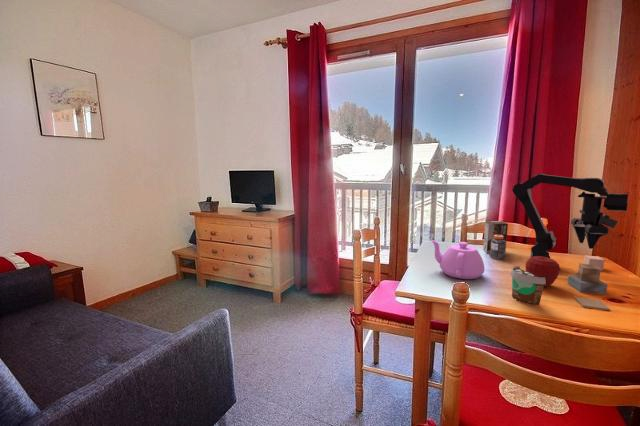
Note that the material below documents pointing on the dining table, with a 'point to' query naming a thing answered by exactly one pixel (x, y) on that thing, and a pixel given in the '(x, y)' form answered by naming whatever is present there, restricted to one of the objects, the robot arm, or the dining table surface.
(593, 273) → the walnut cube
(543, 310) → the dining table surface
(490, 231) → the coffee box
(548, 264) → the apple
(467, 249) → the pink pot
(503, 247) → the pill bottle
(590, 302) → the tile
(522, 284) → the food container
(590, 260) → the pale pink cube
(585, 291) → the grey flat block
